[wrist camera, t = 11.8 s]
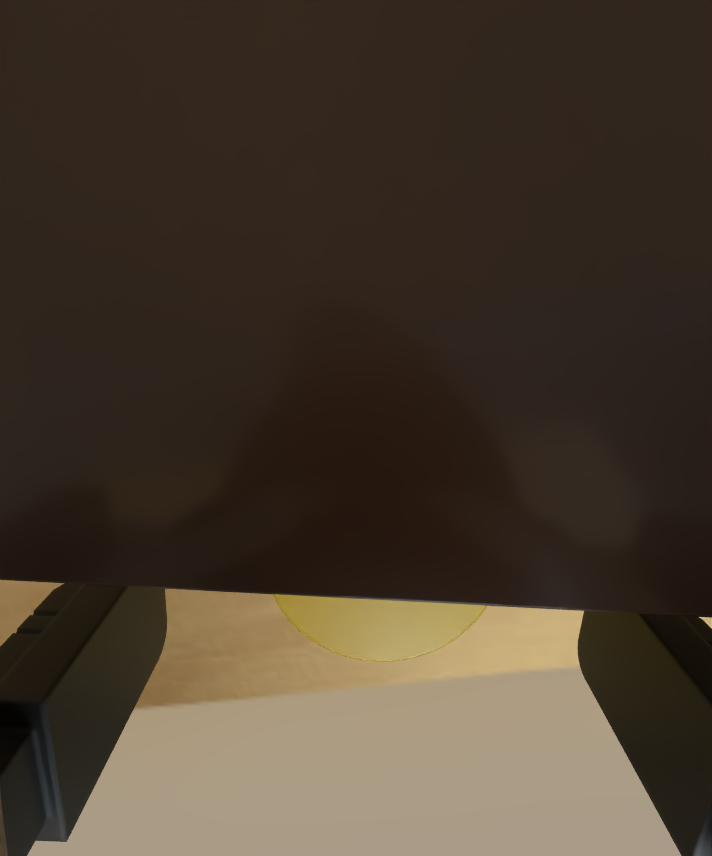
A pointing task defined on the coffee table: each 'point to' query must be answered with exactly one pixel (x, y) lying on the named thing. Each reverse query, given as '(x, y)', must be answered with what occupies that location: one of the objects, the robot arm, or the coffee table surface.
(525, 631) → the coffee table surface
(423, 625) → the cap
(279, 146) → the cabinet
